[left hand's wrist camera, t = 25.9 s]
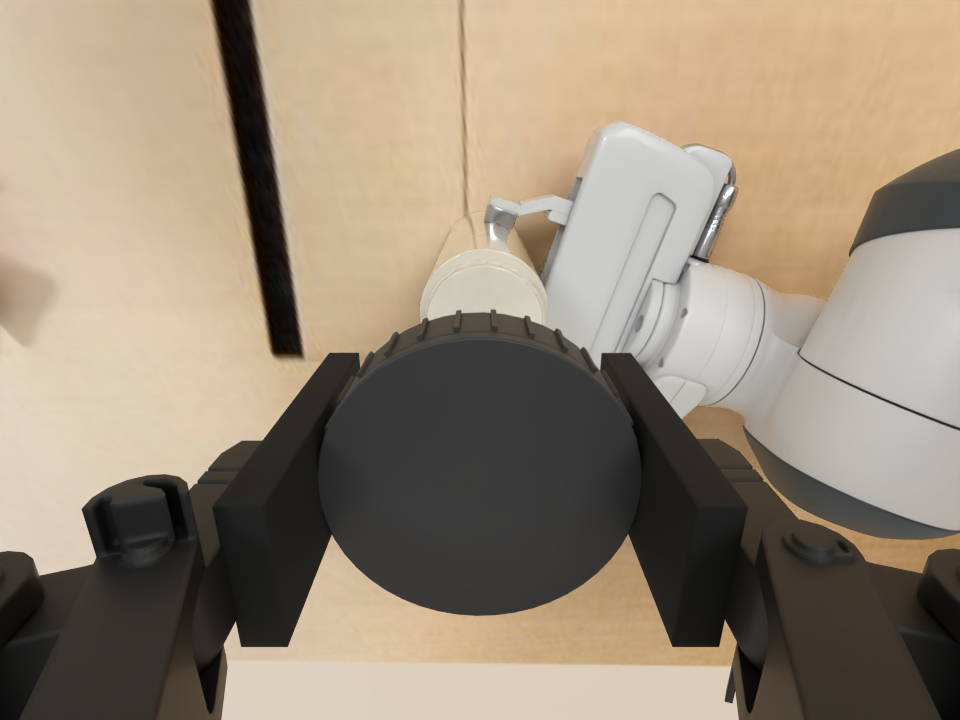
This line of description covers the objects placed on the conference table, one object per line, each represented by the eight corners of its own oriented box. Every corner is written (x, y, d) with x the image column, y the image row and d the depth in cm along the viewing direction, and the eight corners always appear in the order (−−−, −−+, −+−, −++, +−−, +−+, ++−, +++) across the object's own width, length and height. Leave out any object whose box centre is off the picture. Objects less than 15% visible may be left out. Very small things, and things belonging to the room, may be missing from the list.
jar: (502, 299, 40) (518, 406, 23) (434, 270, 40) (395, 357, 22) (534, 230, 39) (577, 288, 21) (463, 198, 38) (446, 231, 20)
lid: (686, 428, 12) (717, 471, 10) (498, 605, 14) (501, 664, 12) (455, 242, 10) (451, 257, 9) (279, 466, 12) (250, 512, 11)
